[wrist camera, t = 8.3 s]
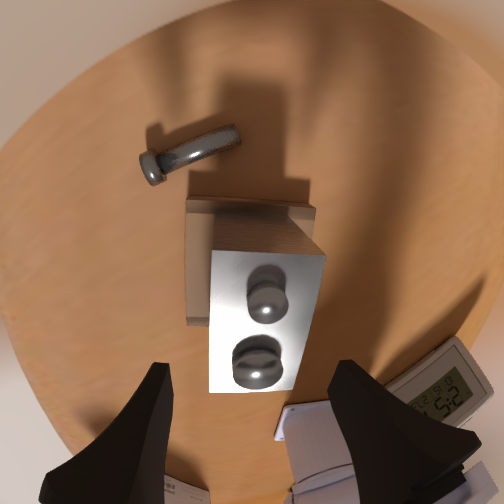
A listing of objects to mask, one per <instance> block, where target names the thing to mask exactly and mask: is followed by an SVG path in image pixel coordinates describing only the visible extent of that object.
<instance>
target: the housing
mask: <svg viewBox="0 0 504 504" xmlns="http://www.w3.org/2000/svg"><path fill="white" fill-rule="evenodd" d="M325 261H326V255H325V253H324V252H323V251H322V250H321V249H320V248H319V247H318V246H317V245H316V244H315V243H314V242H313V241H312V240H311V239H310V238H309V237H308V236H307V235H306V234H305V232H304V231H303V230H302V229H301V228H300V227H299V226H298V225H297V224H296V223H295V222H294V221H293V220H292V219H291V218H290V217H289V216H284V215H271V214H257V213H241V212H224V211H215V213H214V227H213V243H212V264H211V293H210V392H262V391H281V390H292V389H293V386H294V383H295V379H296V376H297V373H298V369H299V366H300V362H301V359H302V355H303V352H304V348H305V345H306V341H307V337H308V333H309V330H310V326H311V322H312V318H313V314H314V310H315V306H316V301H317V297H318V293H319V288H320V284H321V280H322V275H323V270H324V266H325Z"/></svg>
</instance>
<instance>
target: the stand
mask: <svg viewBox="0 0 504 504" xmlns="http://www.w3.org/2000/svg"><path fill="white" fill-rule="evenodd" d="M215 211H224V212H241V213H257V214H271V215H284V216H289V217H290V218H291V219H292V220H293V221H294V222H295V223H296V224H297V225H298V226H299V227H300V228H301V229H302V230H303V231H304V232H305V234H306V235H307V236H308V237H309V238H310V239H312V233H313V226H314V220H315V213H316V208H315V207H313V206H312V205H310V204H307V203H296V202H285V201H273V200H261V199H246V198H230V197H212V196H188V198H187V199H186V221H185V290H186V320H187V326H210V293H211V264H212V243H213V227H214V213H215Z"/></svg>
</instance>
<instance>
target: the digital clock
mask: <svg viewBox="0 0 504 504" xmlns="http://www.w3.org/2000/svg"><path fill="white" fill-rule="evenodd" d="M384 388H386V389H387V390H388V391H389V392H391V393H392V394H393V395H395V396H396V397H397V398H399V399H400V400H402V401H403V402H404V403H406V404H407V405H409V406H411V407H412V408H414V409H416V410H417V411H419V412H421V413H423V414H425V415H426V416H429V417H431V418H433V419H435V420H437V421H440V422H442V423H445V424H448V425H451V426H454V427H457V428H460V427H462V426H463V425H464V424H465V423H466V422H467V421H469V420H470V419H471V418H472V416H473V415H474V414H476V413H477V412H478V411H479V410H480V409H481V408H482V407H483V406H484V405H485V404H486V403H487V402H488V401H489V400H490V399H491V398H492V396H493V393H494V391H493V388H492V386H491V384H490V383H489V381H488V380H487V378H486V376H485V375H484V373H483V372H482V370H481V369H480V367H479V366H478V364H477V363H476V361H475V360H474V359H473V357H472V356H471V354H470V353H469V351H468V350H467V348H466V347H465V346H464V344H463V343H462V342H461V340H460V339H459V338H458V337H456V336H453V337H451V338H450V339H448V340H447V341H446V342H445V343H444V344H442V345H441V346H440V347H439V348H438V349H437V350H433V351H432V352H431V353H429V354H428V355H427V356H426V357H424V358H423V359H422V360H421V361H419V362H418V363H417V364H415V365H414V366H413V367H411V368H410V369H409V370H407V371H406V372H405V373H403V374H402V375H400V376H399V377H398V378H396V379H395V380H393V381H392V382H390V383H389V384H387V385H386V386H384Z"/></svg>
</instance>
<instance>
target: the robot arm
mask: <svg viewBox="0 0 504 504" xmlns="http://www.w3.org/2000/svg"><path fill="white" fill-rule="evenodd" d="M327 391H328V395H329V400H326V401H320V402H312V403H304V404H294V405H287V406H285V407H284V408H283V411H282V415H281V418H280V421H279V424H278V427H277V430H276V433H275V436H274V440H276V441H279V440H285V444H286V448H287V452H288V456H289V461H290V465H291V469H292V473H293V477H294V481H295V485H292V490H293V492H292V493H289V494H288V495H287V497H286V498H285V500H284V504H486V503H487V502H488V501H489V500H490V499H491V498H493V496H494V495H495V494H497V493H498V491H499V490H498V488H497V486H496V484H495V483H494V481H493V479H492V477H491V476H490V474H489V473H488V471H487V469H486V467H485V466H484V464H483V462H482V461H480V462H478V463H477V464H476V465H475V466H473V467H472V468H471V469H469V470H468V471H467V472H465V473H464V474H463V473H462V470H463V469H464V466H463V464H462V463H463V462H464V461H466V460H467V459H468V458H469V457H470V456H471V455H472V454H474V453H475V452H476V451H477V449H479V448H480V446H481V444H482V443H481V441H480V440H479V438H478V437H477V435H476V433H475V432H474V431H469V430H465V429H461V428H457V427H454V426H451V425H448V424H445V423H442V422H440V421H437V420H435V419H433V418H431V417H429V416H426V415H425V414H423V413H421V412H419V411H417V410H416V409H414V408H412V407H411V406H409V405H407V404H406V403H404V402H403V401H402V400H400V399H399V398H397V397H396V396H395V395H393V394H392V393H391V392H389V391H388V390H387V389H386V388H384V387H383V386H382V385H381V384H380V383H378V382H377V381H376V380H375V379H374V378H373V377H371V376H370V375H369V374H368V373H367V372H366V371H365V370H363V369H362V368H361V367H360V366H359V365H358V364H356V363H355V362H354V361H353V360H352V359H350V360H342V361H339V363H338V366H337V368H336V371H335V373H334V376H333V378H332V381H331V383H330V385H329V388H328V390H327ZM173 397H174V393H173V387H172V381H171V374H170V366H169V363H159V362H154V363H153V364H152V365H151V367H150V369H149V371H148V372H147V374H146V376H145V377H144V379H143V381H142V382H141V384H140V385H139V387H138V389H137V390H136V391H135V393H134V394H133V396H132V397H131V399H130V400H129V402H128V403H127V404H126V405H125V407H124V408H123V409H122V411H121V412H120V413H119V414H118V416H117V417H116V418H115V419H114V420H113V422H112V423H111V424H110V425H109V426H108V427H107V428H106V429H105V430H104V431H103V432H102V433H101V434H100V435H99V436H98V437H97V438H96V439H95V440H94V441H93V442H92V443H90V444H89V445H88V446H87V447H86V448H84V449H83V450H82V451H81V452H79V453H78V454H77V455H75V456H74V457H73V458H71V459H70V460H68V461H67V462H65V463H64V464H62V465H60V466H59V467H57V468H55V469H54V470H52V471H50V472H48V473H47V474H46V476H45V478H44V480H43V483H42V486H41V490H40V495H39V502H40V503H41V504H165V496H164V474H165V458H166V451H167V445H168V439H169V433H170V427H171V421H172V414H173Z"/></svg>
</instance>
